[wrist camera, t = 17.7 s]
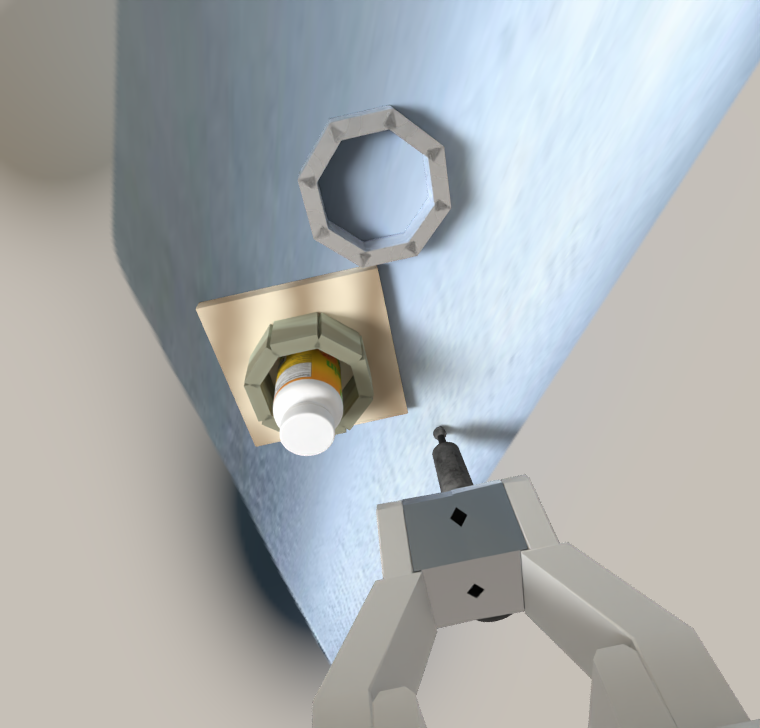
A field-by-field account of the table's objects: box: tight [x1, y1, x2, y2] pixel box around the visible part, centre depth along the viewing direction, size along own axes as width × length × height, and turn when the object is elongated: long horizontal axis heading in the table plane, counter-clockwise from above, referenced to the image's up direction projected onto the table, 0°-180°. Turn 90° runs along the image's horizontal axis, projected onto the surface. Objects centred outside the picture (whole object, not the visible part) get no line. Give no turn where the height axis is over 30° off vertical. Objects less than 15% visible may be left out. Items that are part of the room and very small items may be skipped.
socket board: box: [196, 265, 408, 447], centre depth 44 cm, size 15×15×5 cm
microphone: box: [432, 427, 513, 622], centre depth 43 cm, size 7×7×20 cm
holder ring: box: [298, 105, 451, 268], centre depth 37 cm, size 10×10×2 cm
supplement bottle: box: [273, 349, 343, 456], centre depth 41 cm, size 5×5×10 cm
